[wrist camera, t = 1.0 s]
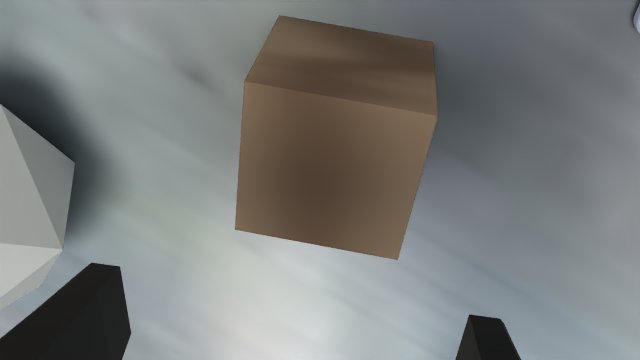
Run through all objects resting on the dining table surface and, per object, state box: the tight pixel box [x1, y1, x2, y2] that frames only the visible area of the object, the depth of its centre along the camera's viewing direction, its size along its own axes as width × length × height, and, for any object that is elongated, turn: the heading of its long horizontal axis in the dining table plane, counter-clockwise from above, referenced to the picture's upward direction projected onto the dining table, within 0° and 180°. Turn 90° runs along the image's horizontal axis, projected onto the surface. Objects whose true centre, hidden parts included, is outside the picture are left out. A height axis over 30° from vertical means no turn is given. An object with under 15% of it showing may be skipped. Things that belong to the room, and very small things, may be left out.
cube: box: [235, 16, 438, 260], centre depth 19 cm, size 5×5×5 cm
